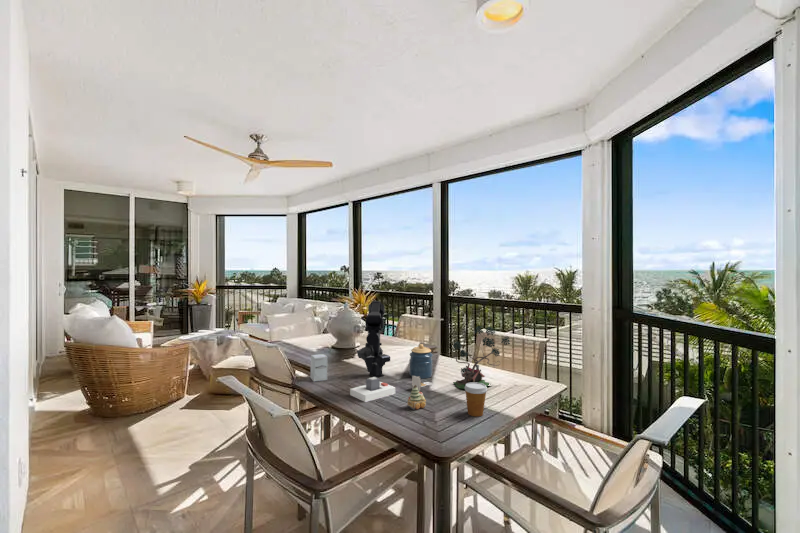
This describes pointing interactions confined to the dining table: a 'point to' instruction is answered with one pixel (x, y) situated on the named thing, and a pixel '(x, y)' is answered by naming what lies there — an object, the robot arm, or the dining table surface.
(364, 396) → the socket
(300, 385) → the dining table surface
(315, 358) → the supplement box
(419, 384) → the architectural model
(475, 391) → the disposable coffee cup
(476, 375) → the bonsai tree
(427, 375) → the canister
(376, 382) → the plug
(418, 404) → the ornament
